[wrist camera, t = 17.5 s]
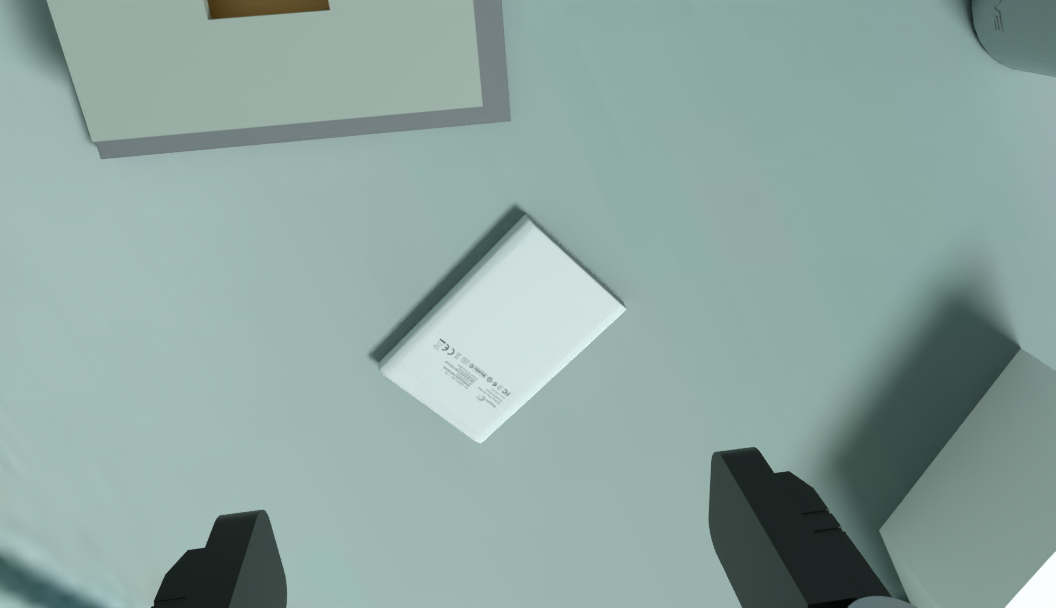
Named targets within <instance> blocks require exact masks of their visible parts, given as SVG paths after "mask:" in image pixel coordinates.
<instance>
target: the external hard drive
mask: <svg viewBox="0 0 1056 608" xmlns="http://www.w3.org/2000/svg"><path fill="white" fill-rule="evenodd" d="M626 309H627V308H626V306H625V305H624V303H623V302H622V301H621V300H620V299H619V298H618V297H617V296H616V295H615V294H614V293H613V292H611V291H610V290H609V289H608V288H607V287H606V286H605V285H604V284H603V283H602V282H601V281H599V280H598V279H597V278H596V277H595V276H594V275H593V274H592V273H591V272H590V271H589V270H587V269H586V268H585V267H584V266H583V265H582V264H581V263H580V262H579V261H578V260H577V259H575V258H574V257H573V256H572V255H571V254H570V253H569V252H568V251H567V250H566V249H565V248H563V247H562V246H561V245H560V244H559V243H558V242H557V241H556V240H555V239H554V238H553V237H551V236H550V235H549V234H548V233H547V232H546V231H545V230H544V229H543V228H542V227H541V226H540V225H539V224H537V223H536V222H535V221H534V220H533V219H532V218H531V217H530V216H529V215H528V214H525V215H524V216H522V218H521V219H520V220H519V221H518V222H517V223H516V224H515V225H514V226H513V227H512V228H511V229H510V230H509V231H508V232H507V233H506V234H505V235H504V236H503V237H502V238H501V239H500V240H499V241H498V242H497V243H496V244H495V245H494V246H493V247H492V248H491V249H490V250H489V251H488V252H487V253H486V254H485V255H484V256H483V257H482V258H481V259H480V260H479V261H478V262H477V263H476V264H475V265H474V266H473V267H472V268H471V269H470V270H469V271H468V273H466V274H465V275H464V276H463V278H462V279H461V280H460V281H459V282H458V283H457V284H456V285H455V286H454V287H453V288H452V289H451V290H450V291H449V292H448V293H447V294H446V295H445V296H444V297H443V298H442V299H441V300H440V301H439V302H438V303H437V304H436V305H435V306H434V307H433V308H432V309H431V310H430V311H429V312H428V313H427V314H426V315H425V316H424V317H423V318H422V319H421V320H420V321H419V322H418V323H417V324H416V325H415V326H414V327H413V328H412V329H411V330H410V331H409V332H408V333H407V334H406V335H405V336H404V337H403V338H402V339H401V340H400V341H399V342H398V343H397V345H396V346H395V347H394V348H393V349H392V350H390V351H389V352H388V353H387V354H386V355H385V356H384V357H383V358H382V360H381V361H380V362H379V368H378V369H379V371H380V372H381V373H382V374H383V375H384V376H385V377H387V378H388V379H390V380H391V381H393V382H394V383H395V384H397V385H398V386H399V387H401V388H402V389H404V390H405V391H407V392H408V393H409V394H411V395H412V396H413V397H415V398H416V399H418V400H419V401H420V402H422V403H423V404H425V405H426V406H427V407H429V408H430V409H431V410H433V411H434V412H436V413H437V414H438V415H440V416H441V417H442V418H444V419H445V420H447V421H448V422H449V423H451V424H452V425H453V426H455V427H456V428H458V429H459V430H460V431H462V432H463V433H464V434H466V435H467V436H469V437H470V438H471V439H473V440H474V441H476V442H478V443H482V442H483V441H484V440H485V439H486V438H487V437H488V436H490V435H491V434H492V433H493V432H494V431H495V430H496V429H497V428H498V427H499V426H500V425H501V424H503V423H504V422H505V421H506V420H507V419H508V418H509V417H510V416H511V415H512V414H514V413H515V412H516V411H517V410H518V409H519V408H520V407H521V406H522V405H524V404H525V403H526V402H527V401H528V400H529V399H530V398H531V397H532V396H533V395H534V394H535V393H536V392H538V391H539V390H540V389H541V388H542V387H543V386H544V385H545V384H546V383H547V382H548V381H549V380H550V379H552V378H553V377H554V376H555V375H556V374H557V373H558V372H559V371H560V370H561V369H563V368H564V367H565V366H566V365H567V364H568V363H569V362H570V361H571V360H572V359H573V358H575V357H576V356H577V355H578V354H579V353H580V352H581V351H582V350H583V349H584V348H585V347H587V346H588V345H589V344H590V343H591V342H592V341H593V340H594V339H595V338H596V337H597V336H598V335H599V334H600V333H602V332H603V331H604V330H605V329H606V328H607V327H608V326H609V325H610V324H611V323H612V322H613V321H614V320H615V319H617V318H618V317H619V316H620V315H621V314H622V313H623V312H624V311H625V310H626Z"/></svg>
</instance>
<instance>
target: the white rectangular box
mask: <svg viewBox="0 0 1056 608" xmlns="http://www.w3.org/2000/svg"><path fill="white" fill-rule="evenodd" d="M879 532H880V534H881V536H882V539H883V541H884V543H885V546H886V548H887V550H888V553H889V555H890V557H891V560H892V562H893V564H894V567H895V569H896V571H897V574H898V576H899V578H900V581H901V583H902V586H903V588H904V590H905V593H906V595H907V597H908V600H909V602H910V604H912V605H914V606H916V607H917V608H1056V371H1055V370H1053V369H1052V368H1050V367H1049V366H1047V365H1046V364H1044V363H1043V362H1041V361H1040V360H1038V359H1037V358H1035V357H1034V356H1032V355H1031V354H1029V353H1028V352H1026V351H1025V350H1023V349H1022V348H1021V349H1020V350H1019V351H1018V353H1017V354H1016V355H1015V356H1014V358H1013V359H1012V360H1011V362H1010V363H1009V364H1008V365H1007V367H1006V368H1005V369H1004V371H1003V372H1002V373H1001V374H1000V376H999V377H998V378H997V380H996V381H995V382H994V383H993V385H992V386H991V387H990V389H989V390H988V391H987V392H986V394H985V395H984V396H983V398H982V399H981V400H980V401H979V403H978V404H977V405H976V407H975V408H974V409H973V410H972V412H971V413H970V414H969V416H968V417H967V418H966V419H965V421H964V422H963V423H962V425H961V426H960V427H959V428H958V430H957V431H956V432H955V434H954V435H953V436H952V437H951V439H950V440H949V441H948V443H947V444H946V445H945V446H944V448H943V449H942V450H941V452H940V453H939V454H938V455H937V457H936V458H935V459H934V461H933V462H932V463H931V464H930V466H929V467H928V468H927V469H926V471H925V472H924V473H923V475H922V476H921V477H920V478H919V480H918V481H917V482H916V484H915V485H914V486H913V487H912V489H911V490H910V491H909V493H908V494H907V495H906V496H905V498H904V499H903V500H902V502H901V503H900V504H899V505H898V507H897V508H896V509H895V511H894V512H893V513H892V514H891V516H890V517H889V518H888V520H887V521H886V522H885V523H884V525H883V526H882V527H881V529H880V530H879Z"/></svg>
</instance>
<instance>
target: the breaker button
mask: <svg viewBox="0 0 1056 608" xmlns="http://www.w3.org/2000/svg"><path fill="white" fill-rule="evenodd" d="M207 2H208V6H209V10H210V14H211V19H218V18H230V17H243V16H255V15H268V14H280V13H293V12H306V11H318V10H330V7H329V1H328V0H207Z"/></svg>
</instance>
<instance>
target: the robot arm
mask: <svg viewBox="0 0 1056 608" xmlns="http://www.w3.org/2000/svg"><path fill="white" fill-rule="evenodd" d="M972 14H973V23H974V27H975V30H976V33H977V35H978V38H979V41H980V42H981V44H982V45H983V47H984V48H985V50H986V51H987V53H988V54H989V55H991V56H992V57H993V58H994V59H995V60H997V61H998V62H999V63H1001V64H1003V65H1005V66H1007V67H1010V68H1012V69H1015V70H1021V71H1026V72H1031V73H1036V74H1042V75H1047V76H1052V77H1056V0H972ZM709 528H710V534H711V539H712V542H713V546H714V549H715V551H716V554H717V556H718V558H719V560H720V562H721V564H722V566H723V568H724V570H725V572H726V574H727V577H728V579H729V581H730V583H731V585H732V587H733V589H734V591H735V593H736V595H737V597H738V600H739V602H740V604H741V606H742V608H917V607H916V606H914V605H912V604H910V603H907V602H905V601H902V600H899V599H895V598H892V596H891V595H890V594H889V592H888V591H887V590H886V588H885V587H884V585H883V584H882V583H881V581H880V580H879V578H878V577H877V576H876V574H875V573H874V572H873V570H872V569H871V567H870V566H869V565H868V563H867V562H866V560H865V559H864V558H863V556H862V555H861V553H860V552H859V551H858V549H857V548H856V547H855V545H854V544H853V542H852V541H851V540H850V538H849V537H848V535H847V534H846V533H845V531H844V532H843V531H842V529H841V526H840V524H839V523H838V522H837V520H836V519H835V517H834V516H833V515H832V514H830V513H829V509H828V508H827V506H826V505H825V504H824V502H823V501H822V499H821V498H820V497H819V495H818V494H817V492H816V491H815V490H814V488H812V487H811V486H810V485H808V484H807V483H805V482H804V481H802V480H801V479H800V478H798V477H797V476H795V475H794V474H792V473H791V472H789V471H787V472H779V473H774V472H773V471H772V469H771V468H770V466H769V465H768V463H767V462H766V460H765V459H764V457H763V456H762V454H761V453H760V451H759V450H758V449H757V448H755V447H750V448H742V449H735V450H727V451H719V452H715V453H714V454H713V456H712V460H711V478H710V499H709ZM286 604H287V585H286V578H285V573H284V569H283V566H282V562H281V559H280V555H279V551H278V548H277V544H276V541H275V537H274V534H273V530H272V527H271V523H270V520H269V517H268V514H267V513H266V511H265V510H257V511H250V512H242V513H234V514H227V515H220V516H219V517H218V518H217V519H216V521H215V523H214V526H213V528H212V531H211V533H210V536H209V539H208V541H207V544H206V546H205V548H200V549H193V550H187V552H186V553H185V554H184V555H183V556H182V557H181V558H180V559H179V560H178V561H177V562H176V564H175V565H174V566H173V567H172V568H171V569H170V570H169V571H168V572H167V573H166V575H165V577H164V579H163V581H162V584H161V586H160V588H159V590H158V593H157V595H156V597H155V600H154V606H152V607H151V608H286Z"/></svg>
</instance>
